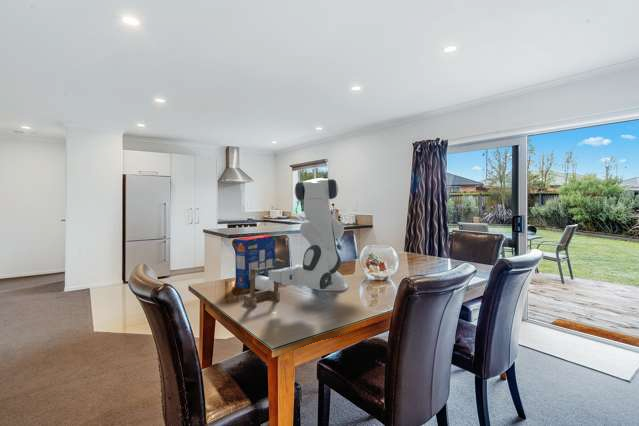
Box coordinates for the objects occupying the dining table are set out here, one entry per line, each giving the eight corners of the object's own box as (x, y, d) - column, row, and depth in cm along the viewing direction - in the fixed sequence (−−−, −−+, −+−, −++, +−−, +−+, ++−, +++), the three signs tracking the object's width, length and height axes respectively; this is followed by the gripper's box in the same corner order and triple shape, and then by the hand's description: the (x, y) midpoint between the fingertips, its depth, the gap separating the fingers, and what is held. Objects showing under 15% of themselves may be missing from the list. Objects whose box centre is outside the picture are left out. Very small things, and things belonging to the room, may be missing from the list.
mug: (264, 294, 171) (264, 279, 171) (252, 290, 177) (252, 276, 177) (280, 289, 180) (280, 275, 180) (269, 286, 187) (269, 272, 186)
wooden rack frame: (279, 299, 161) (279, 264, 161) (253, 307, 150) (253, 269, 149) (269, 296, 167) (269, 262, 166) (244, 303, 156) (243, 266, 155)
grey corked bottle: (285, 281, 150) (286, 258, 150) (281, 284, 145) (281, 260, 145) (276, 280, 151) (276, 258, 151) (271, 283, 146) (271, 259, 146)
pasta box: (265, 277, 209) (265, 234, 207) (275, 278, 205) (275, 235, 204) (235, 287, 184) (235, 239, 183) (246, 289, 180) (246, 240, 179)
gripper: (314, 264, 147) (293, 260, 156) (281, 270, 132) (260, 266, 141) (314, 278, 147) (293, 273, 156) (281, 286, 132) (260, 280, 141)
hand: (277, 270), depth 149 cm, fingers closed on grey corked bottle, 5 cm apart
